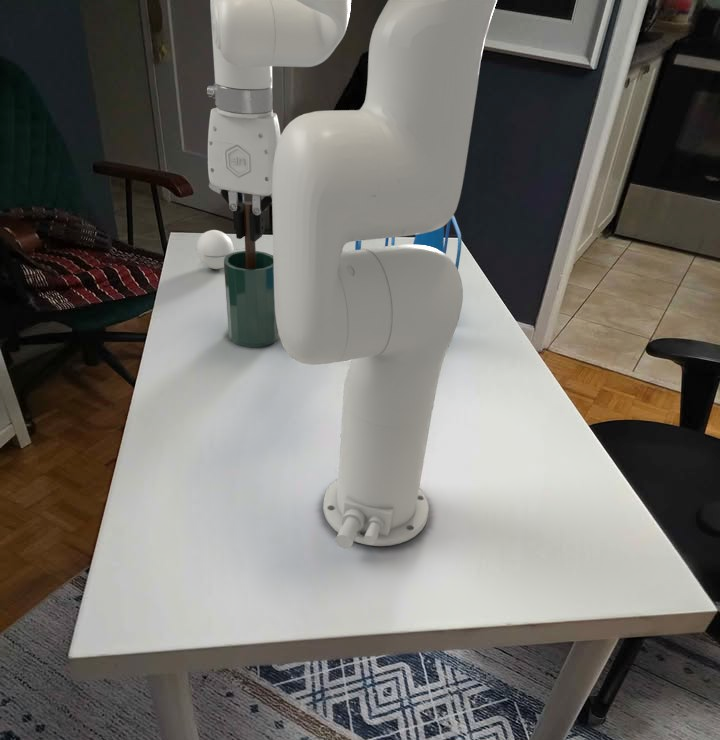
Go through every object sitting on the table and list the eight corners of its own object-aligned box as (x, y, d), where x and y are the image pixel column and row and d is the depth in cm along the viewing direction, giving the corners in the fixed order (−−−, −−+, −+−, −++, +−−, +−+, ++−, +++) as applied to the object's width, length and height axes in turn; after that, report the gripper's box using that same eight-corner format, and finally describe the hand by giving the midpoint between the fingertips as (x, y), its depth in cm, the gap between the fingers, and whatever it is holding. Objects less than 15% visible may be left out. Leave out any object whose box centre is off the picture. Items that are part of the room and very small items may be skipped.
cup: (266, 351, 106) (264, 274, 97) (220, 341, 107) (214, 264, 99) (285, 330, 112) (284, 255, 104) (241, 321, 113) (237, 247, 105)
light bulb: (195, 274, 127) (191, 236, 123) (201, 260, 133) (197, 223, 128) (246, 277, 128) (244, 239, 123) (250, 262, 134) (248, 226, 129)
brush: (259, 322, 106) (255, 209, 94) (236, 318, 106) (230, 204, 95) (268, 312, 109) (266, 201, 97) (246, 308, 109) (241, 197, 98)
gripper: (178, 97, 86) (191, 236, 98) (289, 113, 83) (288, 254, 95) (204, 88, 91) (213, 221, 103) (308, 103, 89) (306, 238, 101)
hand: (249, 236), depth 99 cm, fingers closed on brush
